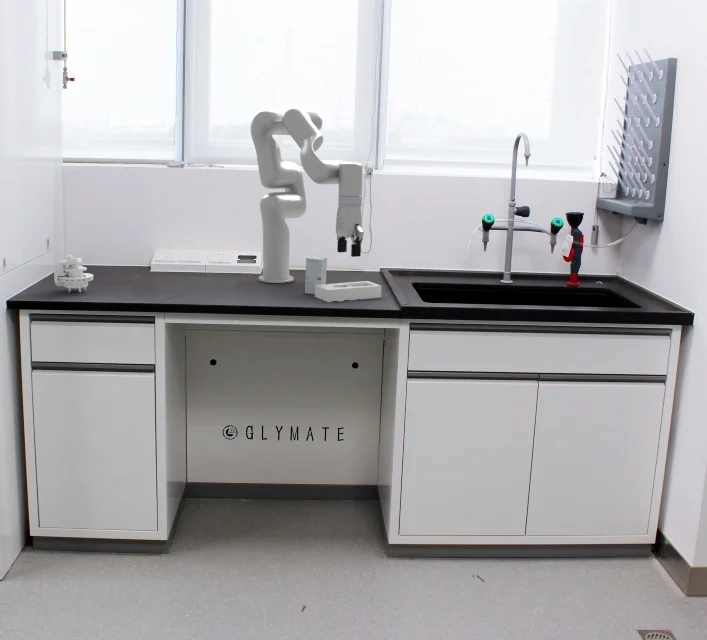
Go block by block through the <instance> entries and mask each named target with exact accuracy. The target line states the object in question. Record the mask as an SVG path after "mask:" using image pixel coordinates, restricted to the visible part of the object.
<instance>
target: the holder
mask: <svg viewBox="0 0 707 640" xmlns="http://www.w3.org/2000/svg"><path fill="white" fill-rule="evenodd" d="M314 297H315V298H316V297H317V298H316V299H318V298H319V299H318V300H321V299H322V301H323V300H324V302H325V301H327V302H326V303H334V302H333V301H338V302H345V301H344V300H349V301H356V300H357V299H358V300H357V301H359V299H360V300H369V299H379V298H380V299H381V298H382V285H380V284H377V283H376V282H375V283H374V282H371V281H369V280H365V281H363V280H362V281H354V282H353V281H351V282H350V281H349V282H337V283H326V284H323V285H315V294H314ZM331 301H332V302H331Z"/></svg>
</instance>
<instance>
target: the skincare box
mask: <svg viewBox="0 0 707 640" xmlns="http://www.w3.org/2000/svg"><path fill="white" fill-rule="evenodd" d="M327 263H328V258H327V257H319V256H308V257H307V258H305V281H304V293H305V294H310V295H315V285H323V284H327V265H328V264H327Z"/></svg>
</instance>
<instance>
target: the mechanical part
mask: <svg viewBox="0 0 707 640" xmlns="http://www.w3.org/2000/svg"><path fill="white" fill-rule="evenodd" d="M82 261H83V260H82V257H74V256H73V254H68V255H66V259H63V260H60V261H59V260H58V261H57V262H56V268H53V276H54V277H53V279H54V284H55V285H56V287H64V288H67V290H68V289H69V291H71V289H77V288H78V289H79V290H78V293H79V292H81V293H82V290H81V289H82V288H83V289H84V290H86V291H87V287H88V286H89V282H91V281H93V280H94V274H93V273H89V272H87V273H86V271H87V269H88V267H87V266H83V264H82ZM69 291H68V292H69ZM71 292H72V291H71Z"/></svg>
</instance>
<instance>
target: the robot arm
mask: <svg viewBox="0 0 707 640" xmlns="http://www.w3.org/2000/svg"><path fill="white" fill-rule="evenodd" d="M322 127H323V117H322V115H321V113H320V112H319V111H318V110H317V109H315V108H312V107H299V106H295V107H289V108H287V109H286V110H285V109H270V108H269V109H262V110H258V111H257V112H256V113H255V114H254V115H253V117H252V119H251V122H250V135H251V140H252V142H253V145H254V149H255V153H256V160H257V161H256V162H257V166H258V174H259V178H260V183H261V185H262V187H263V188H266V189H269V190H278V189H280V190H282V189H284V191H275V192H270V193H266V194H265V195H263V196H262V198H261V199H260V203H259V210H260V214H261V215H260V216H261V222H262V275H259V276H258V281H259V282H261V283H267V284H287V283H291V282H293V281H294V276H292V275H290V229H289V227H288V225H287V222H286V221H285V220H286V219H287V220H289V219H298V218H301V217H303V216H304V215H305V213H306V210H307V198H306V191H305V189H306V188H305V184H304V177H303V176H304V175H303V173H302V170H301V168H300V167H299V165H298V164H297V163H296V162H293V161H283V160H282V159H283V158H282V154H281V149H280V146H279V144H278V143H277V141H276V139H275V138H274V137H273V135H276V136H277V135H278V136H290V137H291V138H292V139H293V140H294V142H295V143H296V145H297V146H298V147H299V148H300V152H299V153H300V154H299V158H300V165H301V166H302V168H303V171H304V172H305V173H306V174H307V176H308V178H309V179H311V181H312V182H314V183H315V184H318V185H338V205H337V206H338V207H337V211H336V220H335V222H336V223H335V234H336V236H337V237H336V240H337V245H336V246H337V248H336V249H337V253H347V251H348V249H347V248H348V247H347V246H348V238H350V239H351V245H350V246H351V247H350V248H351V250H350V252H351V254H350V256H351V257H352V258H353V257H354V258H356V257H357V258H358V257H361V256H362V255H361V253H362V252H361V251H362V244H363V239H364V238H363V237H364V234H365V232H364V230H363V228H362V227H363V224H362V223H363V222H362V221H363V217H362V207H363V206H362V205H363V202H362V201H363V169H364V168H363V164H362V163H360V162H351V161H349V162H347V161H345V160H322V159H321V158H319V156H318V155H317V153H316V151H319V149H320V148H321V146H322V145H323V141H324V136H323V134H322V133H321V132H320V131H321V130H322ZM286 282H287V283H286Z"/></svg>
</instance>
